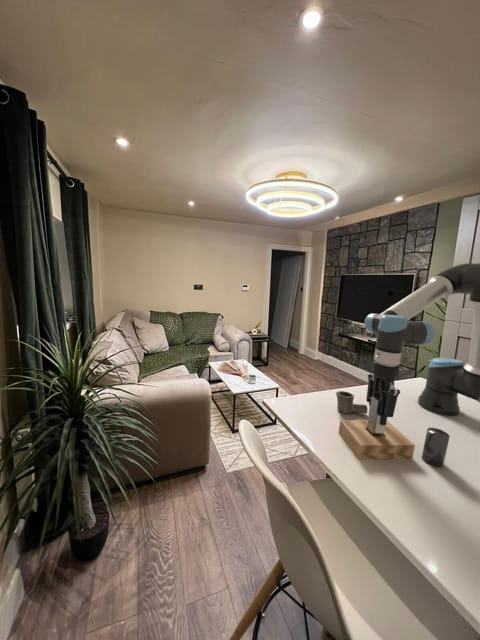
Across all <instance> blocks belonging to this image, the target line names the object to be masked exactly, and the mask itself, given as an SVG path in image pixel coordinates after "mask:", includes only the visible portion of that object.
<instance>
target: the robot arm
mask: <svg viewBox="0 0 480 640" xmlns="http://www.w3.org/2000/svg"><path fill="white" fill-rule="evenodd" d="M454 294H455V295H456V294H463V295H469V302H471V303H472V304H473V306H474V307H473V316H472V326H471V337H470V347H469V359H468V362H467V363H465V361H464V360H459V359H455V358H449V357H434V358H431V360H430V362H429V365H428V371H427V376H426V381H425V387H424V389H423V390H422V392H421V394H420V395H419V396H418V399H417V404H418V405H419V406H420V407H421V408H423V409H424V410H428V411H429V412H432V413H434V414H438V415H441V416H446V417H456V416H459V414H460V411H461V410H460V409H461V408H460V406H459V399H458V394H460V395H462V396H463V397H464V396H465V397H467V398H468V399H471V400H474V401H475V402H476V401H477V402H478V403H480V262H479V263H478V262H477V263H473V262H471V263H461V264H456V265H453V266H452V267H448V268H446V269H445V270H442V271H440V272H438V273H436V274H435V275H434V276H431V277H430V278H429V279H428V281H427V283H425V284H424V285H423V286H421V287H420V288H418V289H416V290H415V291H414V292H412V293H410V294H409V295H407V296H406V297H404V298H402V299H401V300H400V301H398V302H396V303H395V304H393V305H391V306H390V307H389V308H387V309H385V310H384V311H383V312H380V313H370V314H368V315H367V316H366V317H365V319H364V323H363V324H364V328H365V331H367V332H369V333H372V334H373V335H377V336H376V342H375V350H374V355H373V360H374V361H372V366H371V367H372V368H371V372H372V373H373V374H372V373H371V374H370V373H369V374H367V378H368V379H367V380H368V382H367V390H366V399H365V400H366V403H368V405H369V407H370V405H371V398H372V396H380V413H378V415H377V421H376V427H375V432H376V433H384V429H385V425H386V422H387V421H388V418H393V417H394V414H395V409H396V405H397V401H398V397H399V395H400V393H401V390H400V389H397V388H396V387H395V379H396V378H398V377H399V372H400V365H401V361H402V355H403V349H404V348H403V347H404V346H409V345H413V346H414V345H418V346H419V345H424V344H428V343H430V342H432V341H433V339H434V338H435V333H436V332H435V329H434V327H433V325H432V323H429V322H427V321H421V320H417V321H415V320H414V321H413V320H411V319H412V318H413V317H415V316H417V315H418V314H420V313H421V312H423V311H424V310H426V309H427V308H429V307H430V306H432V305H433V304H435V303H436V302H437V301H439V300H441V299H445V298H448V297H450V296H452V295H454ZM369 411H370V408H369V410H368V412H369Z"/></svg>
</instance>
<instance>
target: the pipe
mask: <svg viewBox="0 0 480 640" xmlns="http://www.w3.org/2000/svg"><path fill="white" fill-rule="evenodd" d="M335 396H336V399H337V400H336V401H337V407H336V408H337V411H338V412H340V413H342V414H350V413H354V414H363V415H365V414H367V413H368V406H367V404H362V403H361V404H360V403H359V404H358V403H354V399H355V395H354V394H353V393H351V392H349V391H343V390H340V391H336V392H335ZM367 415H368V414H367Z"/></svg>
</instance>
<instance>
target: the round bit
mask: <svg viewBox="0 0 480 640" xmlns="http://www.w3.org/2000/svg"><path fill="white" fill-rule="evenodd" d="M450 438H451V436H450V435H449V433H447V432H446V431H444V430H442V429H440V428H436V427H428V428H427V429H426V434H425V439H424V444H423V449H422V454H421V459H422V461H423V462H425V464H427V465H429V466H431V467H434V468H438V469H439V468H441V469H442V468H443V467H444V466H445V465H444V463H445V461H446V460H445V459H446V455H447V450H448V445H449V441H450Z"/></svg>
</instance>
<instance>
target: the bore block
mask: <svg viewBox="0 0 480 640" xmlns="http://www.w3.org/2000/svg"><path fill="white" fill-rule="evenodd" d="M367 424H368V419H366V420H365V419H359V420H358V419H356V420H355V419H353V420H352V419H351V420H348V419H345V420H344V419H342V420H341V419H340V421H339V429H338V434H339V435H340V436H341V438H342V439H343V441H344V442H345V443H346V444H347V446H348V447H349V448H350V450H351V451H352V453H353V454H354V456H356V458H357V459H358V460H360V461H361V460H372V461H373V460H413V459H414V458H413V457H414V454H415V448H416V444H414V443H413V441H411V440H410V439H409V438H407V436H405V435H404V434H403V433H402V432H401V431H400V430H399V429H397V428H396V427H395V426H394V425H393V424H392V423H391V422H390V421H389V420H387V422H386V425H385V429H384V433H383V436H372V435H371V434H370V433H369V432H368V431H367Z"/></svg>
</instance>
